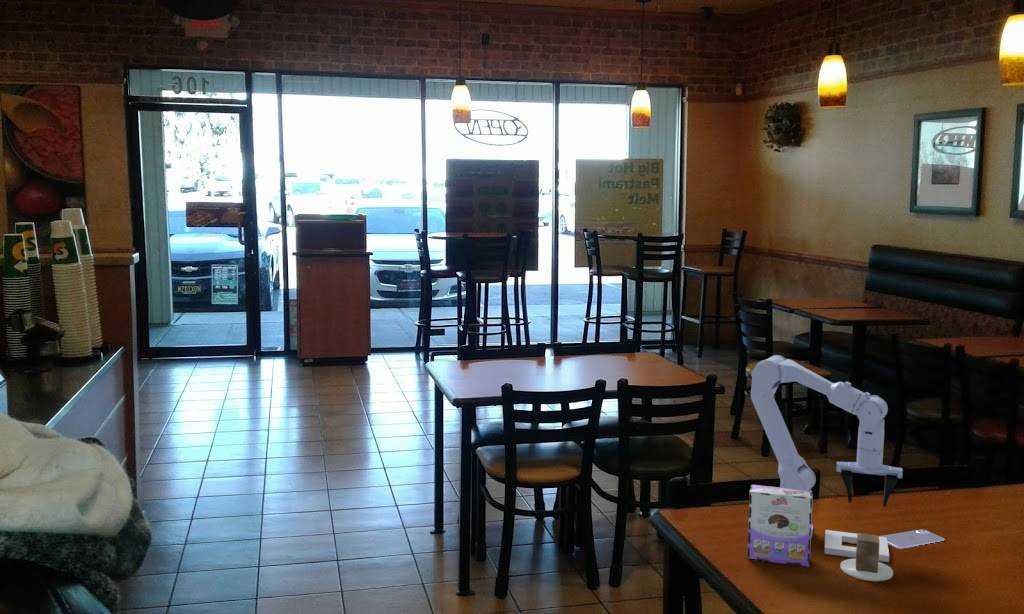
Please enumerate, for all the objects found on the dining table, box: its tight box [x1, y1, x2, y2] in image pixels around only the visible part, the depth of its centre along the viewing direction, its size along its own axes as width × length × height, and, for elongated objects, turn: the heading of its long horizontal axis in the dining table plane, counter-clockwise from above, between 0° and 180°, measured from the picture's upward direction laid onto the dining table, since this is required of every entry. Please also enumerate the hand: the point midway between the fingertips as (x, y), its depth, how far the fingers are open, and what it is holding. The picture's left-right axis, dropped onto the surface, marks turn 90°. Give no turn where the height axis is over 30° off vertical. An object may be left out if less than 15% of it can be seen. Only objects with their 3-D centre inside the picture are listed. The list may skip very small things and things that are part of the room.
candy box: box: [746, 484, 813, 568], centre depth 209 cm, size 14×6×16 cm, turn 71°
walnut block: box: [855, 532, 880, 573], centre depth 203 cm, size 4×4×7 cm
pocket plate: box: [824, 529, 890, 563], centre depth 216 cm, size 14×12×2 cm
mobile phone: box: [880, 529, 946, 550], centre depth 222 cm, size 8×1×15 cm
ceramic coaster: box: [839, 558, 894, 582], centre depth 203 cm, size 11×11×1 cm
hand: (867, 503), depth 217 cm, fingers open, 7 cm apart
